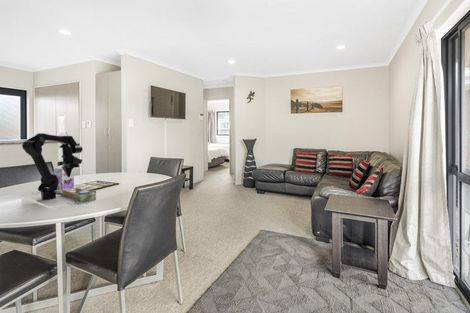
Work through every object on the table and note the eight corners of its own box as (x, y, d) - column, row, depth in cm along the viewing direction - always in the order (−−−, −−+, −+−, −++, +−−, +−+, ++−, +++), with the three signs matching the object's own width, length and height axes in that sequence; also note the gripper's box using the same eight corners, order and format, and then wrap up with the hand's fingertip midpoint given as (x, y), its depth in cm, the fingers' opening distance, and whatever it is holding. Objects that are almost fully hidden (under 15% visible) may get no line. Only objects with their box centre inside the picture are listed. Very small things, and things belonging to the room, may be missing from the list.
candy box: (62, 191, 183) (60, 168, 181) (54, 190, 183) (52, 168, 181) (74, 186, 197) (73, 165, 195) (67, 186, 197) (65, 165, 195)
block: (82, 199, 158) (81, 192, 157) (78, 197, 161) (78, 191, 160) (90, 197, 162) (90, 191, 162) (86, 196, 165) (86, 190, 164)
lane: (81, 202, 155) (80, 195, 154) (62, 196, 168) (62, 190, 168) (104, 197, 167) (104, 191, 166) (85, 192, 181) (85, 186, 180)
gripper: (86, 154, 173) (87, 176, 175) (74, 152, 184) (75, 173, 185) (68, 155, 164) (70, 179, 166) (56, 153, 175) (57, 175, 176)
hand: (68, 176), depth 173 cm, fingers closed
